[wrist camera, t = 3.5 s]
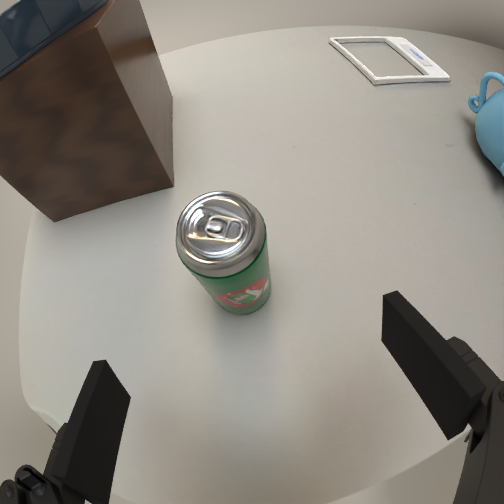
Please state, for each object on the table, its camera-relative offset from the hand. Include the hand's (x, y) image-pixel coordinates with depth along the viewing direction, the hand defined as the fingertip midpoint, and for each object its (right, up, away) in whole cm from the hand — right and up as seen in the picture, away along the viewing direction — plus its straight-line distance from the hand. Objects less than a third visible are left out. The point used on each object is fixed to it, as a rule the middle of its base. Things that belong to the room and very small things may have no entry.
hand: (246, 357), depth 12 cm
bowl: (-20, +25, +3) cm, 32 cm away
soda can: (-1, +1, +14) cm, 14 cm away
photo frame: (+25, +38, +27) cm, 53 cm away
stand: (-18, +18, +22) cm, 33 cm away
